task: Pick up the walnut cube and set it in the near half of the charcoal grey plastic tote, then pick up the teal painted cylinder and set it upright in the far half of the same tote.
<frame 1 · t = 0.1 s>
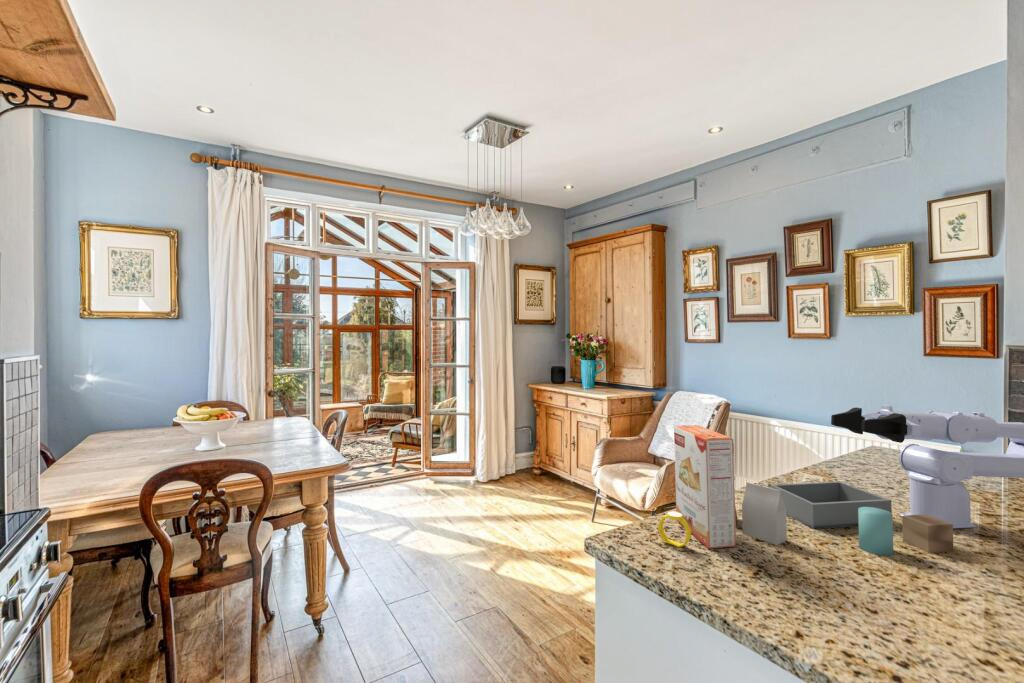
hand: (847, 422, 97), 22 cm above the counter, fingers open, 7 cm apart
cork: (722, 519, 102), on the counter
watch: (674, 545, 90), on the counter
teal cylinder: (875, 549, 86), on the counter
tea bag: (764, 538, 93), on the counter
walnut cube: (927, 546, 87), on the counter
cracker box: (703, 534, 95), on the counter
tote: (827, 514, 104), on the counter
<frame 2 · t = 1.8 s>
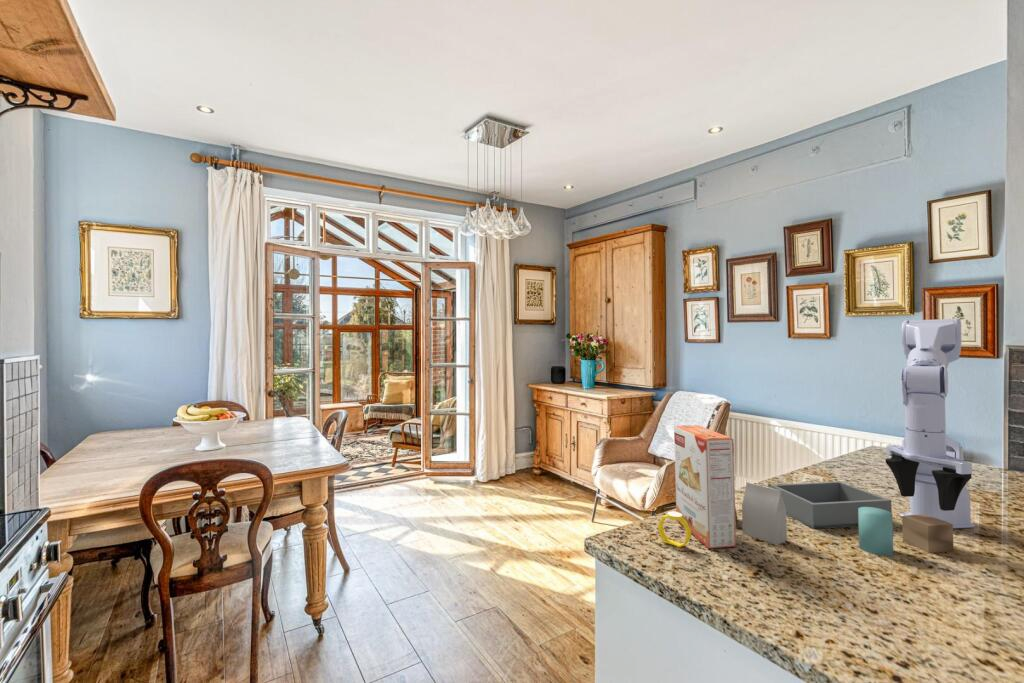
hand: (926, 502, 87), 8 cm above the counter, fingers open, 7 cm apart
nothing on the counter moved.
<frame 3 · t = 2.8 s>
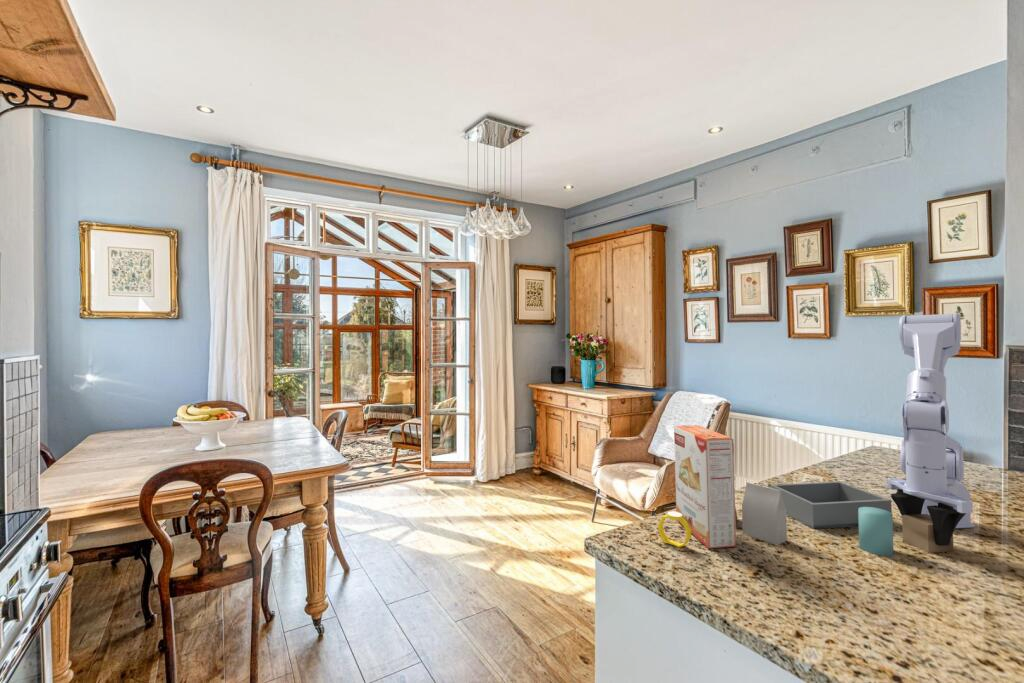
hand: (927, 538, 87), 1 cm above the counter, fingers closed on walnut cube, 5 cm apart
walnut cube: (927, 546, 87), on the counter, touching gripper
everything else where it was.
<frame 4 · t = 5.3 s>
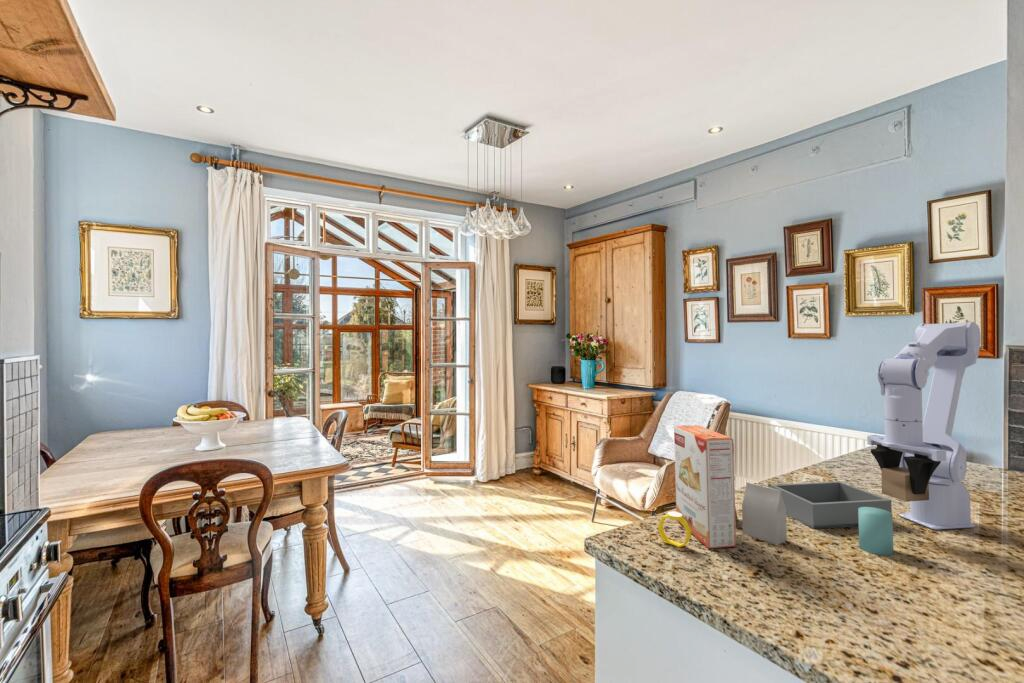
hand: (904, 489, 92), 9 cm above the counter, fingers closed on walnut cube, 5 cm apart
walnut cube: (904, 496, 92), point 8 cm above the counter, touching gripper
everything else where it was.
when the fingers open (4 cm above the counter, at t = 7.6 s): walnut cube drops 2 cm, resting on tote.
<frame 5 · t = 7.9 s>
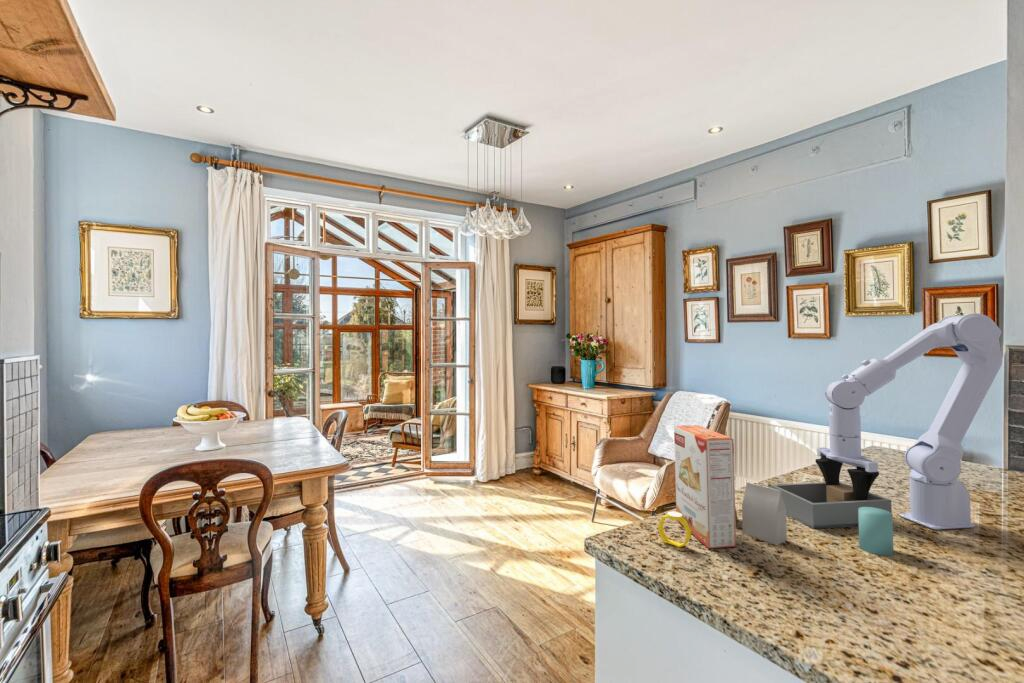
hand: (846, 496, 104), 4 cm above the counter, fingers open, 7 cm apart
walnut cube: (845, 510, 104), point 1 cm above the counter, touching tote
everything else where it was.
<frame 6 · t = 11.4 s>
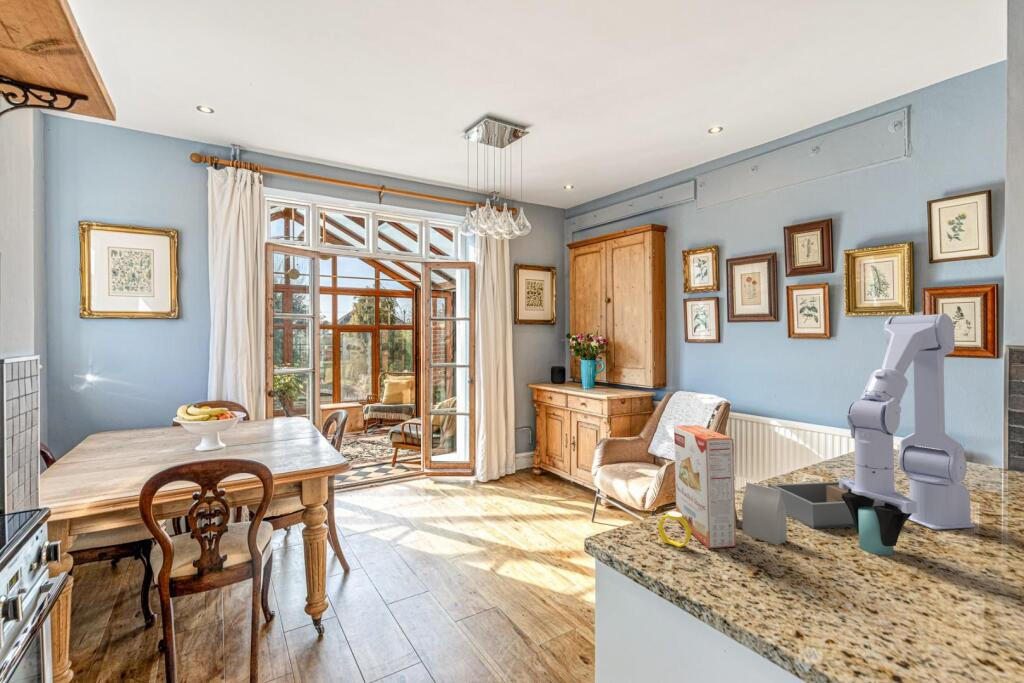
hand: (875, 538, 86), 2 cm above the counter, fingers closed on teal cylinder, 5 cm apart
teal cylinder: (875, 549, 86), on the counter, touching gripper
everything else where it was.
when the fingers open (4 cm above the counter, at t = 15.9 s): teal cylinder drops 2 cm, resting on tote.
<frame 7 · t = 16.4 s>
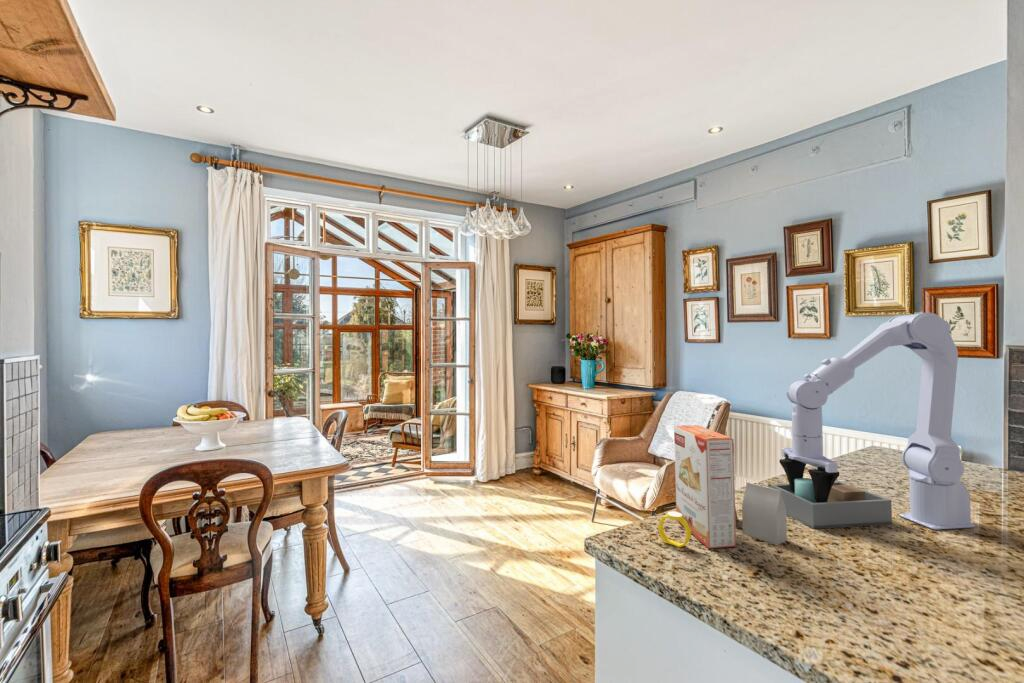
hand: (808, 496, 103), 4 cm above the counter, fingers open, 7 cm apart
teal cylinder: (808, 513, 103), point 1 cm above the counter, touching tote
everything else where it was.
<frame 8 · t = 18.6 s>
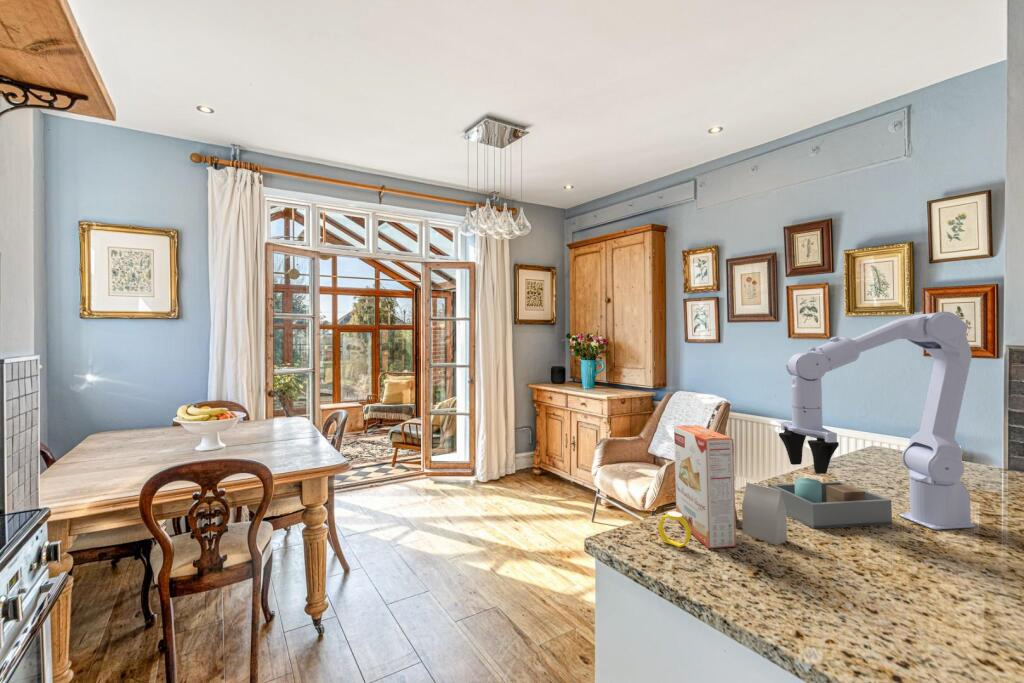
hand: (807, 468, 103), 10 cm above the counter, fingers open, 7 cm apart
nothing on the counter moved.
at the end: walnut cube inside the target area on the tote (4.4 cm from its centre), point 0.6 cm above the tote's base; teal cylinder inside the target area on the tote (4.6 cm from its centre), point 0.6 cm above the tote's base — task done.
